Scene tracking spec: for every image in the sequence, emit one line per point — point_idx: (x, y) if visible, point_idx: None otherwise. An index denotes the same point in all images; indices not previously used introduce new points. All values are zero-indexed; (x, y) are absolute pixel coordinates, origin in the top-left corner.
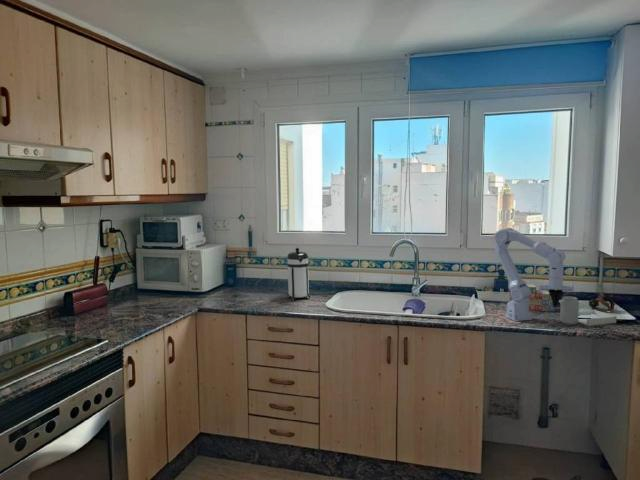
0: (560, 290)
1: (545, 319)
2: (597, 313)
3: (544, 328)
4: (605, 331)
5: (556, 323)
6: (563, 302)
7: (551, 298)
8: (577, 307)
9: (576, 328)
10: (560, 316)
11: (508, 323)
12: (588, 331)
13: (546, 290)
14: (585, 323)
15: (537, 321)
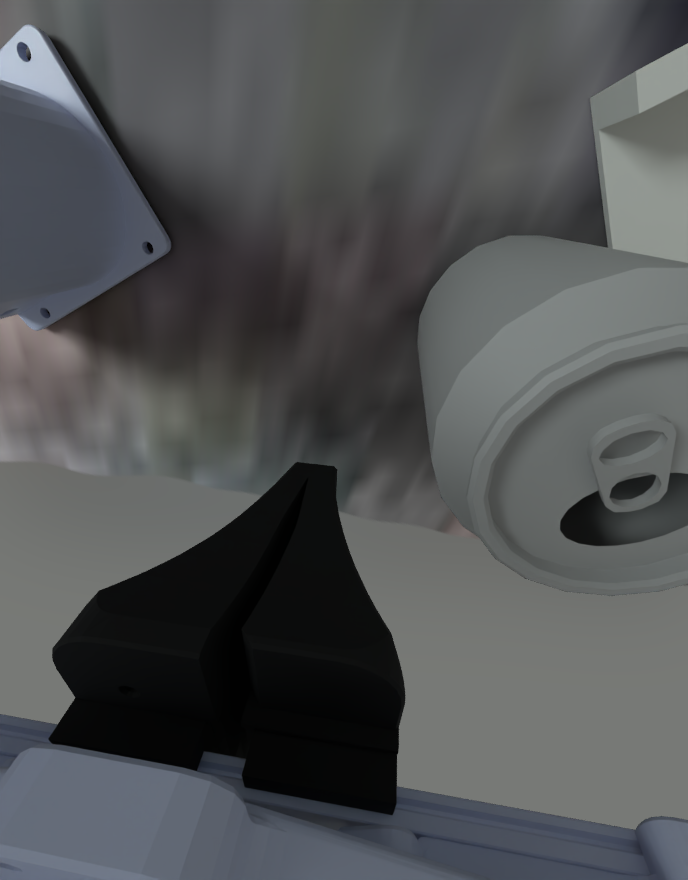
0: (336, 826)
1: (300, 207)
2: None
3: (254, 484)
4: None
5: (372, 355)
6: (445, 495)
7: (236, 520)
8: (626, 490)
9: None
10: (420, 341)
11: (10, 386)
12: None
13: (26, 732)
14: None
15: (216, 303)
